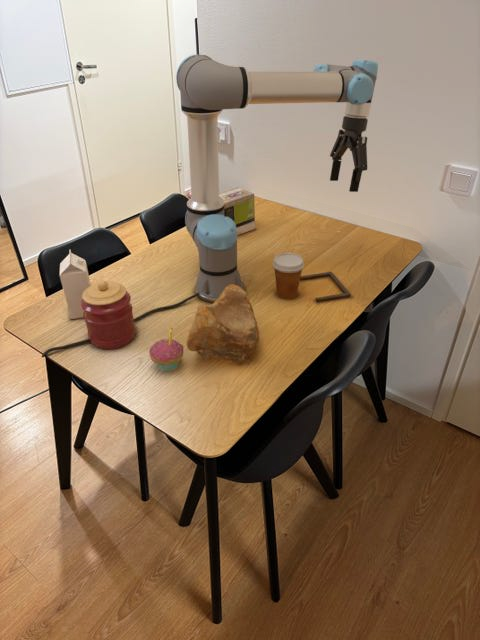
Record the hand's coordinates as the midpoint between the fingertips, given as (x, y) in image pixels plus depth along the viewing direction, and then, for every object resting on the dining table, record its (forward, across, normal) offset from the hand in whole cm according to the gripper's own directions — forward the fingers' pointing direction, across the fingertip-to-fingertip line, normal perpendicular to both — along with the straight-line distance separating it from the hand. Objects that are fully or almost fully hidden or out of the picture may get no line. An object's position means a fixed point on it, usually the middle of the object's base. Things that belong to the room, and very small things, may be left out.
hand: (343, 185), depth 162 cm
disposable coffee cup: (+29, -18, +23) cm, 41 cm away
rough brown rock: (+34, -39, +48) cm, 70 cm away
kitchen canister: (+36, -22, +77) cm, 88 cm away
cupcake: (+36, -40, +65) cm, 84 cm away
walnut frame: (+28, -18, +11) cm, 35 cm away
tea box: (+26, +32, +26) cm, 49 cm away
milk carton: (+36, -7, +84) cm, 92 cm away
